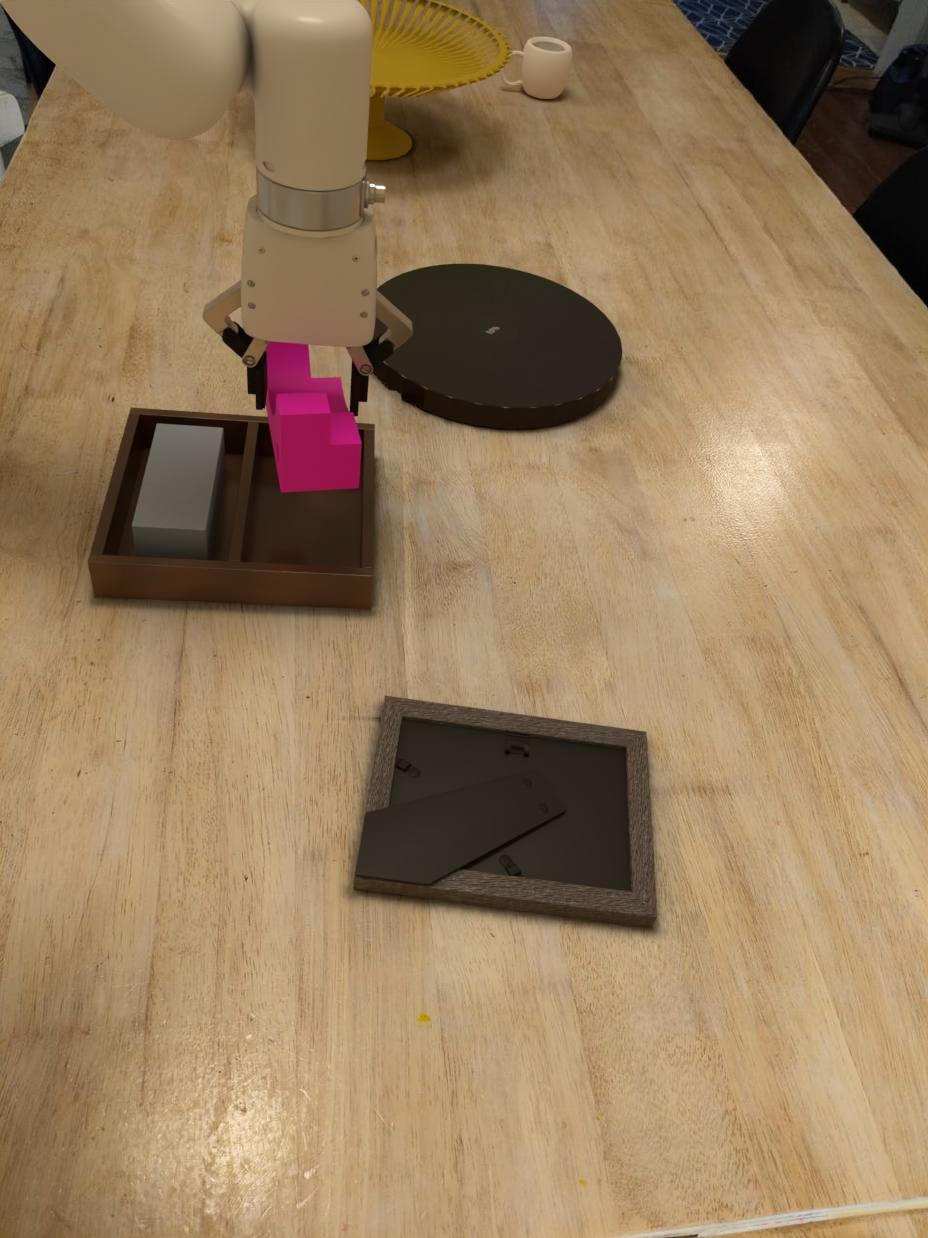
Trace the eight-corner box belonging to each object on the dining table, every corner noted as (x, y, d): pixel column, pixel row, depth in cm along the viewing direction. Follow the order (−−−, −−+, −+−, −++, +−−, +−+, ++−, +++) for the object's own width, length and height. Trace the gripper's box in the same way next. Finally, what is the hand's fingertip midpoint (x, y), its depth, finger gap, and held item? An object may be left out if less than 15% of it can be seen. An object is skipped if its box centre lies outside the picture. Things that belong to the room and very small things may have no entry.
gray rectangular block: (138, 569, 88) (131, 525, 84) (161, 465, 98) (156, 422, 94) (209, 572, 89) (205, 529, 85) (226, 469, 98) (223, 427, 95)
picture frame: (353, 888, 71) (651, 927, 72) (354, 874, 69) (658, 914, 70) (383, 707, 82) (641, 743, 83) (385, 692, 80) (648, 728, 81)
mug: (559, 85, 179) (568, 36, 174) (570, 105, 174) (579, 55, 168) (492, 80, 177) (499, 30, 171) (501, 100, 171) (508, 49, 166)
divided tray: (95, 601, 86) (87, 562, 82) (135, 445, 100) (130, 406, 97) (370, 613, 89) (373, 576, 85) (372, 460, 103) (374, 423, 100)
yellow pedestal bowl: (174, 111, 153) (165, -1, 142) (384, 71, 174) (390, -30, 163) (341, 227, 135) (345, 109, 124) (552, 166, 156) (571, 60, 145)
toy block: (358, 487, 83) (363, 411, 78) (281, 492, 82) (280, 415, 76) (331, 380, 93) (334, 305, 87) (261, 382, 91) (259, 306, 86)
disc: (434, 259, 132) (436, 237, 130) (650, 337, 126) (657, 315, 123) (310, 366, 113) (310, 342, 110) (558, 465, 106) (564, 442, 104)
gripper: (432, 181, 76) (411, 384, 89) (190, 157, 73) (206, 369, 86) (435, 230, 71) (413, 438, 83) (176, 206, 68) (195, 423, 81)
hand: (308, 401), depth 85 cm, fingers closed on toy block, 7 cm apart
